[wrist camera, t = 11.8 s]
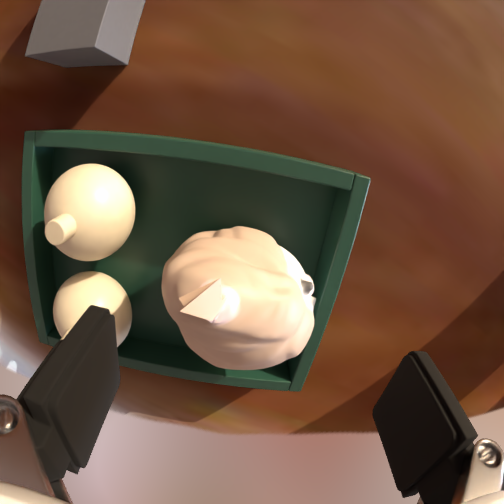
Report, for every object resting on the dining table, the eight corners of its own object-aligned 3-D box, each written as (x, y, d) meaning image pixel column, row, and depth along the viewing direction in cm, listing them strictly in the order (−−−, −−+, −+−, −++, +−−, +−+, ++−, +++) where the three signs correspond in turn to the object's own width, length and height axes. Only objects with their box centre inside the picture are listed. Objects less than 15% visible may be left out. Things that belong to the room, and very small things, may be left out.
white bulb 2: (142, 265, 16) (106, 319, 11) (141, 331, 17) (115, 393, 12) (73, 252, 15) (21, 296, 10) (78, 316, 17) (39, 369, 12)
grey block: (145, 0, 11) (121, -32, 7) (127, 65, 12) (95, 47, 9) (82, 6, 11) (48, -17, 7) (65, 67, 12) (24, 56, 8)
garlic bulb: (309, 217, 15) (371, 295, 8) (293, 325, 17) (321, 438, 10) (176, 209, 15) (116, 282, 7) (178, 319, 17) (147, 431, 10)
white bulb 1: (151, 163, 14) (107, 179, 9) (143, 247, 15) (105, 297, 10) (75, 156, 13) (12, 170, 9) (72, 235, 15) (18, 275, 10)
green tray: (351, 170, 15) (371, 178, 13) (294, 364, 19) (300, 392, 17) (51, 129, 13) (24, 130, 11) (56, 320, 18) (39, 342, 15)
